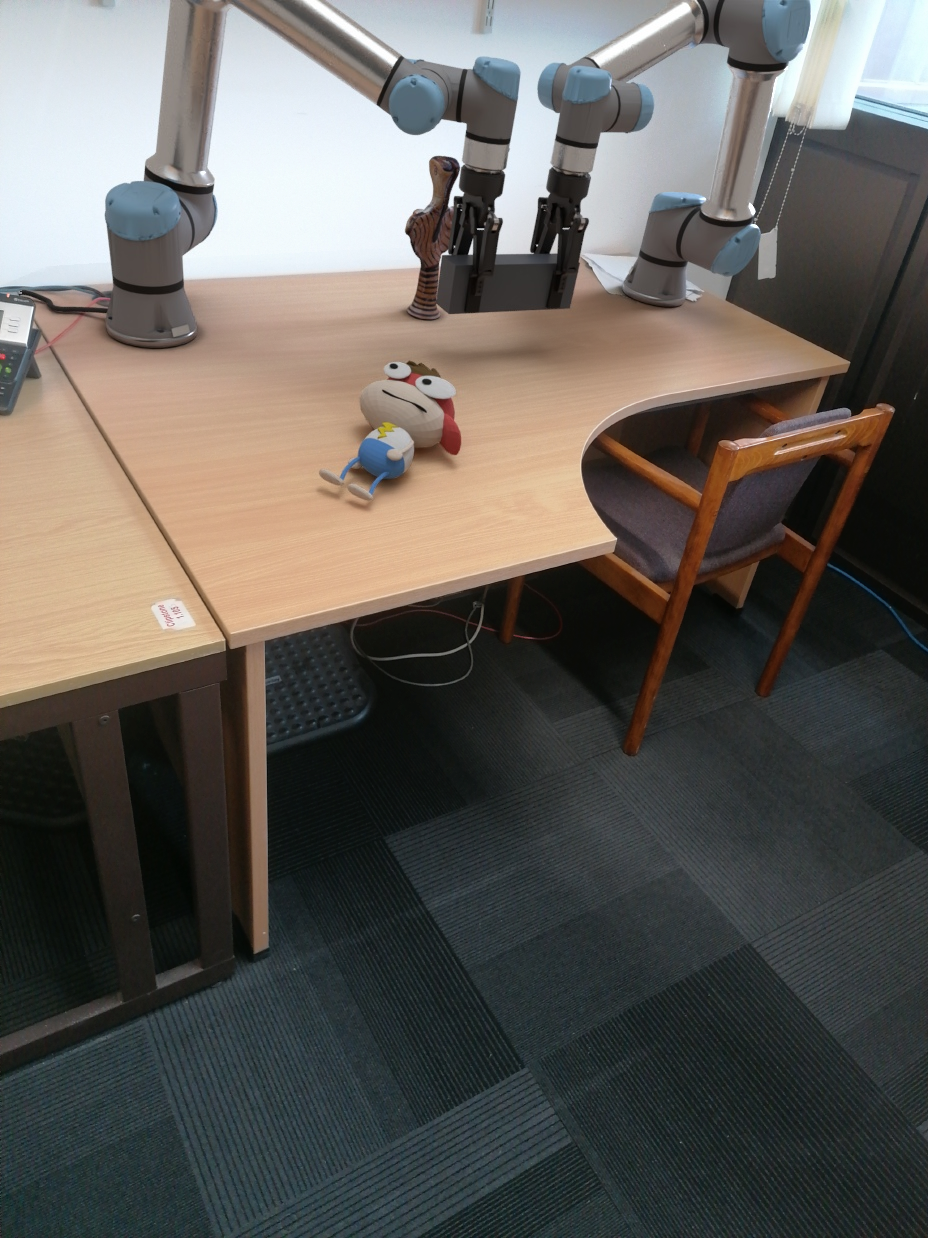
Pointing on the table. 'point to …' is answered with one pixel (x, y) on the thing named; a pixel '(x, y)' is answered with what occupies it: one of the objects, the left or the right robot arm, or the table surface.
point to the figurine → (432, 235)
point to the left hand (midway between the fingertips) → (463, 305)
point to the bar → (502, 283)
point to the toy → (402, 423)
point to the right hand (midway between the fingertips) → (544, 301)
